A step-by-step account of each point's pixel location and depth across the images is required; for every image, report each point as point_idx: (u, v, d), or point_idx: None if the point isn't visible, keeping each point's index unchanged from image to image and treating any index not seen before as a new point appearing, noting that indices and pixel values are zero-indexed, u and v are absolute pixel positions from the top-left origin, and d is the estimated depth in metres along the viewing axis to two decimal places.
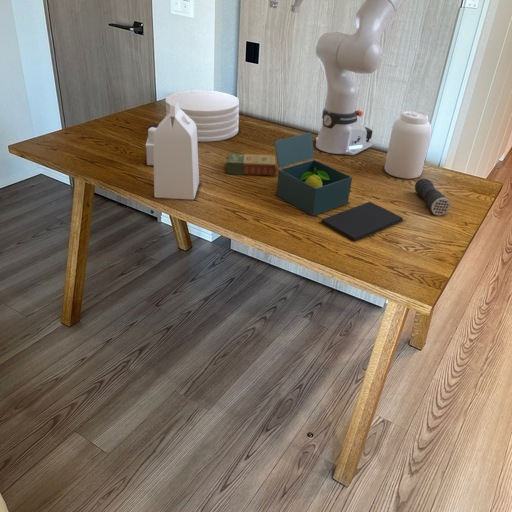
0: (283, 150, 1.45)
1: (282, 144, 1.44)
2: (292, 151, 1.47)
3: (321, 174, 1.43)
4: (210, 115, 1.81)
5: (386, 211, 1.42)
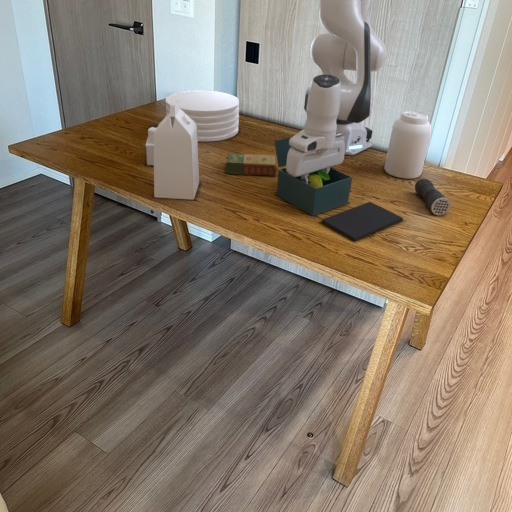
0: (283, 150, 1.45)
1: (282, 144, 1.44)
2: None
3: (321, 174, 1.43)
4: (210, 115, 1.81)
5: (386, 211, 1.42)
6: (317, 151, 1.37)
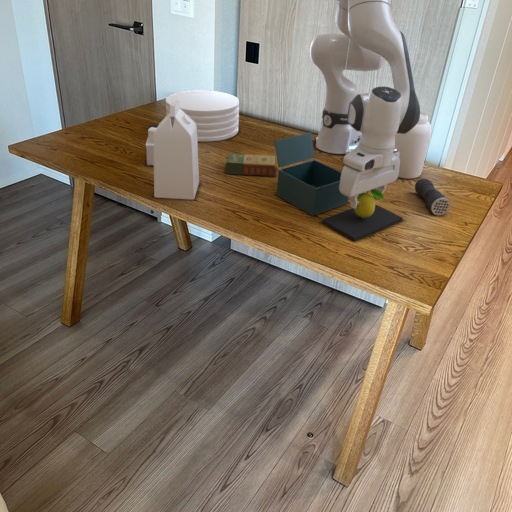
0: (283, 150, 1.45)
1: (282, 144, 1.44)
2: (292, 151, 1.47)
3: (375, 193, 1.33)
4: (210, 115, 1.81)
5: (386, 211, 1.42)
6: (373, 169, 1.26)
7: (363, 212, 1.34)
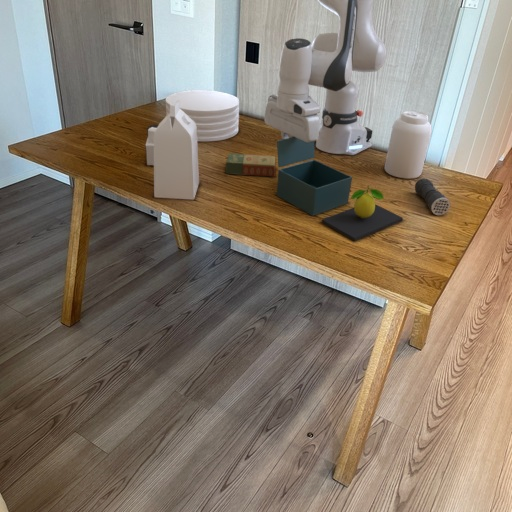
0: (284, 150, 1.44)
1: (284, 144, 1.43)
2: (293, 151, 1.46)
3: (375, 193, 1.33)
4: (210, 115, 1.81)
5: (386, 211, 1.42)
6: None
7: (363, 212, 1.34)
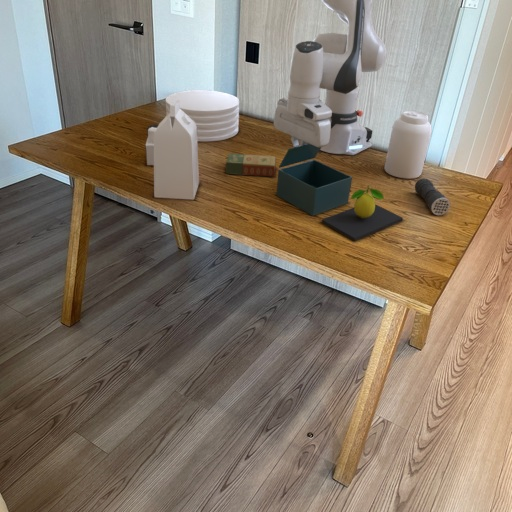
0: (291, 155, 1.42)
1: (294, 151, 1.41)
2: (298, 155, 1.45)
3: (375, 193, 1.33)
4: (210, 115, 1.81)
5: (386, 211, 1.42)
6: None
7: (363, 212, 1.34)
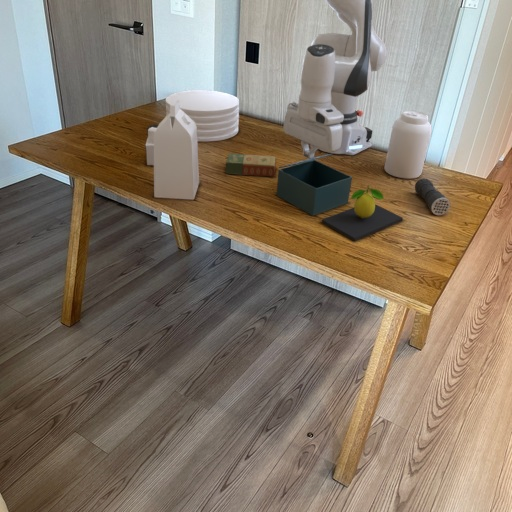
0: (295, 164, 1.42)
1: (299, 163, 1.41)
2: (301, 162, 1.45)
3: (375, 193, 1.33)
4: (210, 115, 1.81)
5: (386, 211, 1.42)
6: None
7: (363, 212, 1.34)
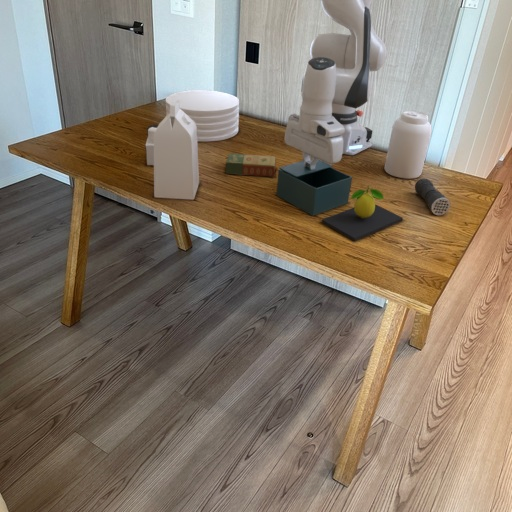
0: None
1: None
2: None
3: (375, 193, 1.33)
4: (210, 115, 1.81)
5: (386, 211, 1.42)
6: None
7: (363, 212, 1.34)
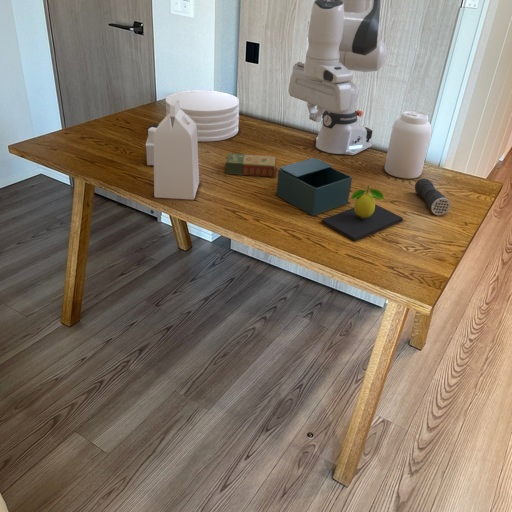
0: None
1: None
2: None
3: (375, 193, 1.33)
4: (210, 115, 1.81)
5: (386, 211, 1.42)
6: None
7: (363, 212, 1.34)
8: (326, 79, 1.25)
